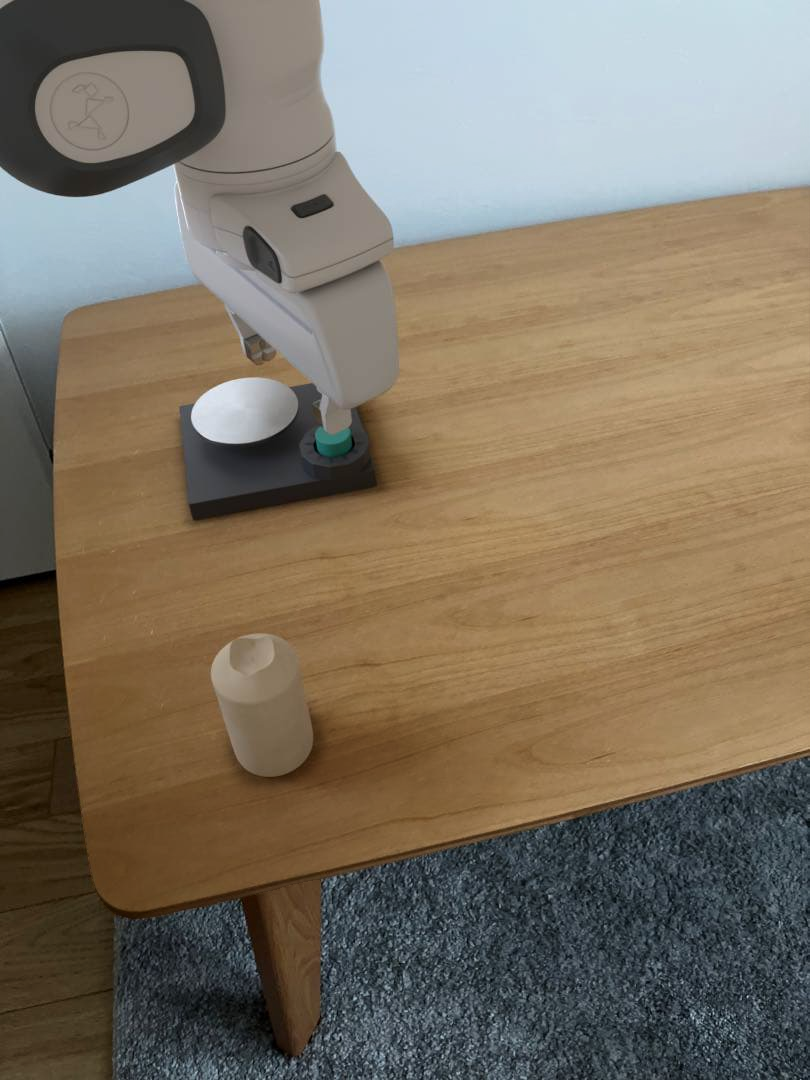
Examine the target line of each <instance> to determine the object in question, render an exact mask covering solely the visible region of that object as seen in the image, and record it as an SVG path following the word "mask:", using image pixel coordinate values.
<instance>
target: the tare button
mask: <svg viewBox="0 0 810 1080" xmlns="http://www.w3.org/2000/svg"><path fill="white" fill-rule="evenodd" d="M315 436H316V443H317V449H318V452H319V453H320V454H321V455H323V456H325V457H330V458H333V457H339V456H344V455H345V454H347V453H348V452H349V451H350V450H351V448H352V440H351V432H350V429H349V427H348V428H347V429H345V430H343V431H340V432H338V433H336V434H334V435H329V434H328V433H327V432H326V431H325V430H324V429H323V428H322V427H319V428H318V429H317V431H316V434H315Z"/></svg>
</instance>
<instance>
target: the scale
mask: <svg viewBox="0 0 810 1080" xmlns="http://www.w3.org/2000/svg"><path fill="white" fill-rule="evenodd" d="M288 387H289V388H290V389H291V390H292V391H293V392H294V393H295V395H296V396H297V399H298V405H299V411H298V415H297V417H296V419H295V421H294V422H293V424H292V425H291V426H290V427H289V428H288V429H287V430H286V431H285V432H283V433H282V434H280V435H279V436H277V437H275V438H273V439H271V440H269V441H266V442H264V443H260V444H257V445H252V446H246V447H226V446H220V445H216V444H213V443H210V442H208V441H206V440H204V439H203V438H201V437H200V436H199V435H198V434H197V433H196V431H195V430H194V428H193V425H192V421H191V413H192V409H193V407H194V405H195V403H196V402H194V403H188V404H182V405H179V406H178V408H179V419H180V428H181V429H180V430H181V440H182V450H183V460H184V471H185V481H186V483H185V484H186V492H187V503H188V508H189V511H190V515H191V518H192V520H193V521H197V520H198V521H199V520H204V519H208V518H214V517H219V516H225V515H229V514H235V513H241V512H245V511H251V510H256V509H262V508H267V507H273V506H278V505H283V504H288V503H289V504H290V503H293V502H300V501H304V500H310V499H315V498H321V497H327V496H331V495H337V494H342V493H346V492H347V493H348V492H352V491H353V492H354V491H357V490H364V489H370V488H374V487H377V486H378V481H377V471H376V466H375V464H374V461H373V457H372V452H371V443H370V440H369V436H368V433H367V432H366V431H365V430H364V428H363V424H362V421H361V418H360V415H359V411H358V408H357V407H355V408H352V409H351V417H352V422H351V425H350V426H349V429H350V432H351V440H352V448H351V450H350V451H349V452H348V453H347V454H345V455H344V456H339V457H333V458H330V457H325V456H323V455H321V454H320V453H319V452H318V449H317V443H316V436H315V434H316V431H317V429H318V428H319V427H321V426H320V425H319V424H318V423H317V422H316V420H315V417H316V415H315V413H314V408H313V403H314V402H317V401H319V400H321V399H322V393H320V392H318V390H317V388H316V386H315V385H314V384H313V383H312V382H310V383H303V384H299V385H292V386H288Z"/></svg>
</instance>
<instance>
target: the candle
mask: <svg viewBox="0 0 810 1080" xmlns="http://www.w3.org/2000/svg"><path fill="white" fill-rule="evenodd" d="M299 662H300V661H299V658H298V654H297V652H296V650H295V648H294V646H293V645H292V644H291V643H290V642H289V641H288V640H286V639H284V638H282V637H280V636H278V635H275V634H270V633H259V632H258V633H251V634H245V635H243V636H240V637H237V638H235V639H233V640H232V641H230V642H229V643H227V644H226V645H224V647H222V648H221V650H220V651H218V653H217V654H216V656H215V657H214V659H213V662H212V665H211V669H210V679H211V682H212V686H213V689H214V692H215V695H216V699H217V703H218V705H219V708H220V711H221V712H220V713H221V714H222V718H223V721H224V724H225V727H226V730H227V734H228V737H229V740H230V743H231V746H232V750H233V753H234V755H235V757H236V759H237V761H238V762H239V764H240V765H241V767H243V769H245V770H246V771H247V772H249V773H251V774H253V775H256V776H258V777H263V778H264V777H265V778H275V777H281V776H284V775H286V774H289V773H291V772H293V771H295V770H296V769H297V768H299V767H300V766H301V765H302V764H303V763H304V762H305V761H307V759H308V757H309V755H310V754H311V752H312V749H313V745H314V731H313V725H312V719H311V715H310V711H309V710H310V709H309V705H308V701H307V697H306V696H307V695H306V691H305V686H304V682H303V677H302V673H301V668H300V663H299Z"/></svg>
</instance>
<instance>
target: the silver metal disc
mask: <svg viewBox="0 0 810 1080" xmlns="http://www.w3.org/2000/svg"><path fill="white" fill-rule="evenodd" d="M289 387H290V386H288V385H286V384H285V383H283V382H280V381H278V380H275V379H271V378H267V377H242V378H237V379H231V380H229V381H226V382H225V381H224V382H223V383H220V384H218V385H216V386H213V387H212V388H211V389H208V390H207V391H206V392H204V393H203V394H201V396H200V397H199V398H198V399H197V400H196V402H194V403H195V405H194V407H193V409H192V413H191V421H192V425H193V428H194V430H195V431H196V433H197V434H198V435H199V436H200V437H201V438H203V439H204V440H206V441H208V442H210V443H213V444H216V445H220V446H226V447H246V446H252V445H257V444H260V443H264V442H266V441H269V440H271V439H273V438H275V437H277V436H279V435H280V434H282V433H283V432H285V431H286V430H287V429H288V428H289V427H290V426H291V425H292V424H293V422H294V421H295V419H296V417H297V415H298V411H299V405H298V399H297V396H296V395H295V393H294V392H293V391H292V390H291V389H290V388H289Z"/></svg>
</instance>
